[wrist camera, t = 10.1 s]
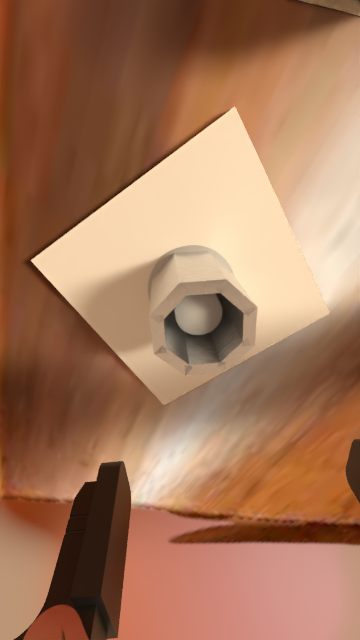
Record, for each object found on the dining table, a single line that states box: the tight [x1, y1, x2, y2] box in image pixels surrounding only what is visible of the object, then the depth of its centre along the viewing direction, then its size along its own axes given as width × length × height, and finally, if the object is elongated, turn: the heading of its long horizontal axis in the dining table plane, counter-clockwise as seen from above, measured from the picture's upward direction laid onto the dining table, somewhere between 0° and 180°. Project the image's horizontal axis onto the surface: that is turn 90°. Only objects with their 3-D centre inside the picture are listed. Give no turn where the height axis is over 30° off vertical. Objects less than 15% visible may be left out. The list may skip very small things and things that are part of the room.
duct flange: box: [31, 107, 330, 405], centre depth 23 cm, size 18×18×6 cm
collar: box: [149, 251, 257, 376], centre depth 21 cm, size 6×6×7 cm
